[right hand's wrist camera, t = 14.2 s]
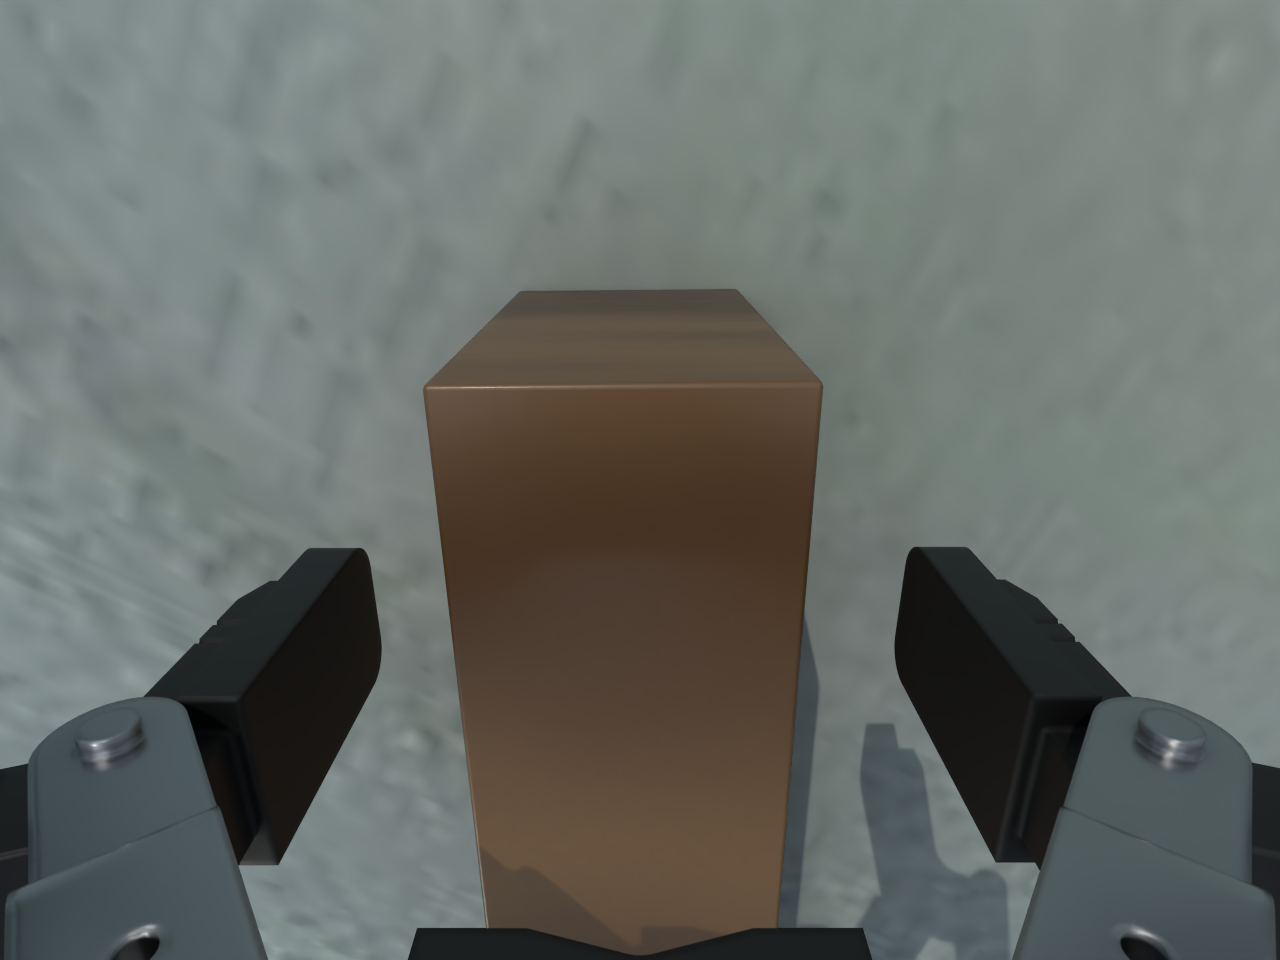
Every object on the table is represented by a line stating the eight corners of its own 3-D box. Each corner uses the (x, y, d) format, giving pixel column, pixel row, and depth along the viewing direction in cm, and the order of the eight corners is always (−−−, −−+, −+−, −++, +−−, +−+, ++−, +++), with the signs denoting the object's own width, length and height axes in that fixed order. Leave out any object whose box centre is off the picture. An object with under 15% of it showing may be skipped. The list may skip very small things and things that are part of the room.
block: (518, 290, 16) (421, 384, 9) (738, 288, 16) (824, 382, 9) (565, 1002, 24) (536, 1357, 17) (710, 1001, 24) (742, 1355, 17)
